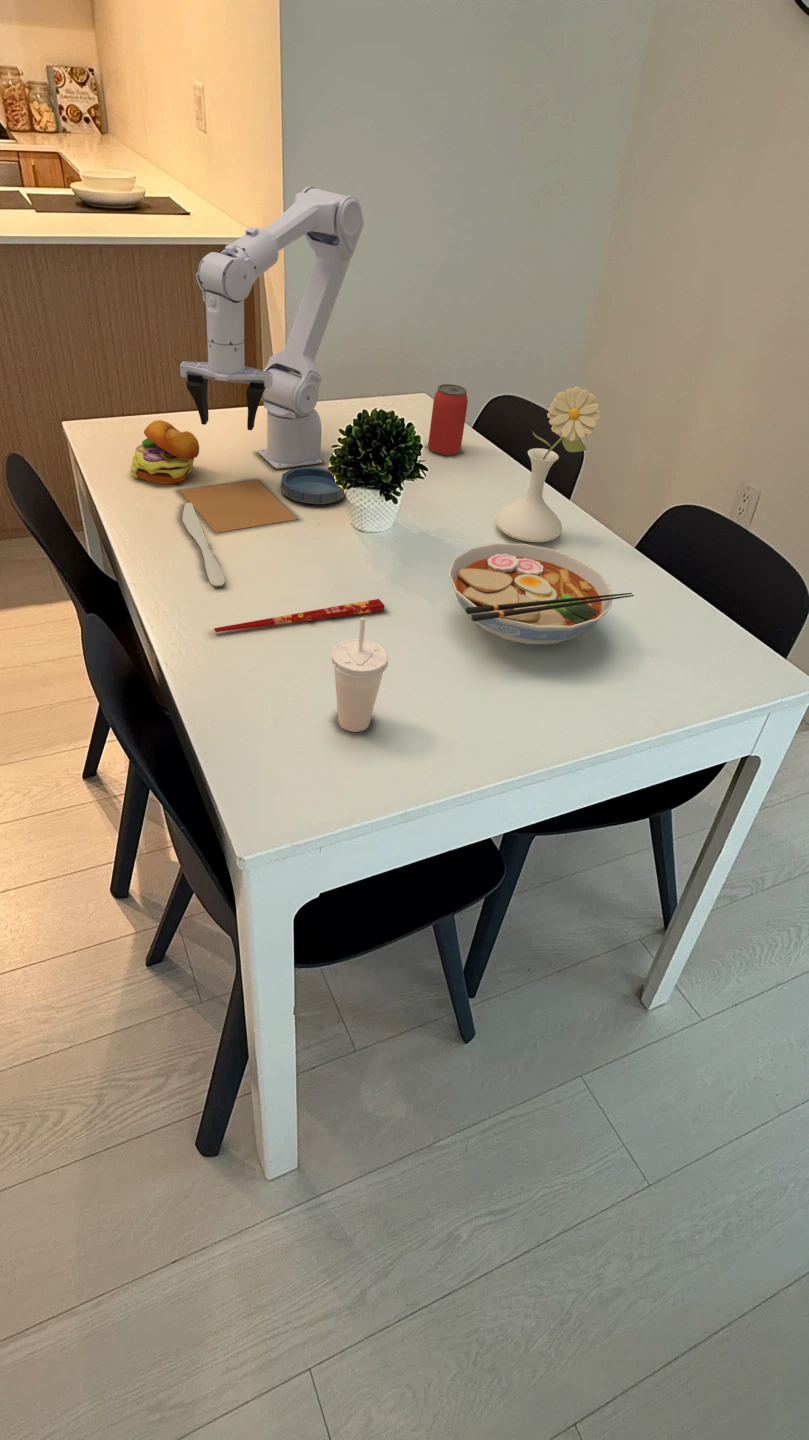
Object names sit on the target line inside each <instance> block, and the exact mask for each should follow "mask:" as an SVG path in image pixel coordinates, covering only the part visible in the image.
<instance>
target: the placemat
mask: <svg viewBox="0 0 809 1440" xmlns="http://www.w3.org/2000/svg"><path fill="white" fill-rule="evenodd" d="M179 492H180V493H181V494H182V496H183V497H184V498H185V499H186V500H187V501H188V503H192V504H193V507H194V510H195V511H197V513H198V514H199V515H200V516H201V517H202V518H203V520H204V521H205V522H206V523H207V525H209V526H210V527H211V529H212V530H213V531H214V532H215V534H218V533H224V532H230V531H236V530H242V529H248V528H254V527H261V526H267V525H272V524H278V523H285V522H290V521H291V522H292V521H296V520H298V518H297V517H296V516H295V515H294V514H293V513H292V512H291V511H290V510H289V509H288V508H286V507H285V505H283V504H282V502H280V501H279V500H278V499H277V498H276V497H275V496H274V495H273V494H272V493H271V492H270V491H269V490H268V489H267V488H266V487H265V486H264V485H263V484H261V482H259V481H258V480H256V479H255V480H249V481H241V482H233V483H227V484H226V483H225V484H219V485H213V486H205V487H197V488H191V489H184V490H183V489H182V490H179Z"/></svg>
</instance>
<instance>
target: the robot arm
mask: <svg viewBox="0 0 809 1440" xmlns="http://www.w3.org/2000/svg"><path fill="white" fill-rule="evenodd" d="M362 210H363V209H362V206H361V203H360V201H359V199H358V198H357V197H356V196H353V195H344V194H340V193H338V192H337V193H336V192H332V191H328V190H324V189H320V188H317V187H316V186H312V185H311V186H306V187H305V188H303V189H302V190H301V191H300V192H297V193H296V194H295V196H294V200H293V204H292V205H290V206H289V208H287V209H286V210H285V211H284V212H283V213H282V214H281V215H280V216H278V217H277V218H276V219H275V220H274V221H273V222H272V223H271V224H270V225H269V226H268V227H266V228H265V229H264V228H262V227H258V226H257V227H253V226H249V227H248V228H246V229H245V230H244V234H243V235H242V236H240V237H239V238H238V239H236V240H235V241H234V242H232V243H228V244H227V245H226V246H225V247H224V249H223V250H222V251H221V252H215V251H211V252H209V253H208V254H206V255H205V256H204V257H202V259H201V260H200V262H199V265H198V269H197V272H196V273H195V278H196V282H197V285H198V288H199V289H200V290H201V293H202V302H203V303H204V305H205V308H206V309H205V313H206V314H205V316H206V317H205V318H206V339H207V343H206V344H207V361H205V362H203V361H186V360H185V361H184V360H183V361H182V362H181V363H180V364H179V373H180V378H185V379H187V381H186V382H185V386H186V389H187V391H188V392H189V393H190V395H191V397H192V399H193V401H194V404H195V406H196V408H197V411H198V415H199V419H200V424H201V425H204V426H206V425H207V423H208V422H209V417H210V416H209V401H208V388H209V387H208V385H209V380H213V381H222V382H228V383H229V382H230V383H237V384H247V385H248V387H247V388H246V390H245V391H246V392H245V394H246V403H247V424H246V427H247V431H253V429H254V427H255V422H256V421H255V420H256V416H257V411H258V408H259V405H260V402H261V401H262V402H263V408H264V409H266V449H259V450H258V454H259V455H260V456H261V457H262V458H263V459H264V460H266V461H267V462H268V464H270V465H271V466H272V467H273V468H274V469H276V470H279V469H288V468H296V467H304V466H309V465H317V464H322V463H323V460H322V459H321V451H322V431H323V430H322V421H321V417H320V414H319V412H318V411H317V410H316V409H315V407H316V406H317V403H318V401H319V390H320V385H321V382H322V375H321V373H320V372H319V371H320V370H319V369H318V367H317V365H316V364H315V362H314V361H315V360H316V357H317V354H318V351H319V349H320V346H321V344H322V341H323V338H324V335H325V332H326V329H327V327H328V323H329V321H330V318H331V316H332V312H333V310H334V307H335V304H336V302H337V300H338V299H337V298H338V296H339V293H340V290H341V288H342V285H343V283H344V278H345V276H346V274H347V271H348V268H349V266H350V262H351V258H353V256H354V252H355V250H356V247H357V244H358V242H359V239H360V236H361V234H362V231H363V228H364V226H365V225H364V224H365V222H364V221H365V220H364V216H363V211H362ZM303 236H305V239H306V240H307V243H308V244H309V247H310V248H311V250H313V251H314V254H315V261H314V264H313V268H312V270H311V274H310V276H309V279H308V282H307V285H306V288H305V290H304V293H303V296H302V298H301V302H300V305H299V308H298V310H297V313H296V316H295V318H294V322H293V324H292V327H291V330H290V332H289V336H288V338H287V341H286V344H285V347H284V349H282V350H281V351H280V350H279V351H278V352H276V353H274V354H272V355H271V356H270V357H269V359H268V362H267V364H266V366H265V367H264V369H263V370H261V369H258V368H254V367H250V366H246V364H245V299H247V298H248V297H249V295H250V293H251V291H252V287H253V286H254V284H255V283H256V280H257V279H258V278H259V277H260V276H262V275H263V274H264V273H266V272H267V271H268V270H269V269H271V268H272V267H273V266H275V265H276V264H277V262H278V260H279V252H280V251H282V250H284V248H286V247H288V246H289V245H291V244H292V243H294V242H296V241H297V240H298V239H300V238H302V237H303Z"/></svg>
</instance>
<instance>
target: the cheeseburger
mask: <svg viewBox="0 0 809 1440" xmlns="http://www.w3.org/2000/svg"><path fill="white" fill-rule="evenodd" d="M143 435H144V436H145V437H146V438H145V439H144V440H142V441H141V443H142V444H139V445H138V446H136V448H135V451H134V454H133V456H132V460H131V461H132V463H131V464H130V473H131V475H132V476H133V477H134V478H135V479H138V478H140V479H142V480H145V481H149V482H154V483H160V484H165V485H166V484H178V483H179V482H182V481H184V480H185V479H186V478H187V477H188V476H189V474H190V473H191V472H192V470H193V468H194V462H195V458H198V456H199V454H200V443H199V440H198V438H197V437H196V436H195V434H194V433H192V432H190V431H188V430H186V431H185V430H184V431H182V432H181V431H180V430H178V429H177V428H176V427H175V426H173V425H172V424H171V423H170V422H167V421H164V420H162V419H158V420H157V419H156V420H153V421H152V422H151V423H149V424H148V425H147V426H146V427H145V429H144V430H143Z"/></svg>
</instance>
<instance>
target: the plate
mask: <svg viewBox="0 0 809 1440" xmlns="http://www.w3.org/2000/svg"><path fill="white" fill-rule="evenodd" d="M329 470H330V469H328V468H324V467H314V466H300V467H293V468H291V469H289V470H287V471H285V472H284V473H282V475H281V479H280V489H281V491H282V493H283V494H284V496H286V497H287V498H289V499H291V500H293V501H297V502H300V503H305V504H309V505H311V504H312V505H326V504H331V503H336V502H338V501H341V499H343V498H344V497H345V495H344V490H343V489H342V488H341V487H339V486H337V485H336V483H335V479H334V476H333V475H332V474H331V473H330V471H329Z"/></svg>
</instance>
